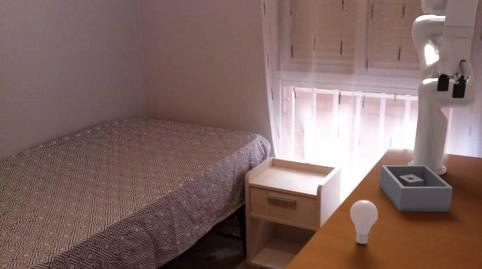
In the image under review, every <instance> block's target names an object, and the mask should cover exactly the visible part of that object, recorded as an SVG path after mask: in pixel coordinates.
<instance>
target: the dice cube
mask: <svg viewBox="0 0 482 269" xmlns="http://www.w3.org/2000/svg"><path fill="white" fill-rule="evenodd" d="M398 181H399V182H400V183H401V184H402V185H403V186H404V187H423V186H424V180H422V179H420V178H419V177H417V176H415V175H413V174H412V175H405V176H399V178H398Z"/></svg>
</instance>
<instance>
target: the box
mask: <svg viewBox="0 0 482 269" xmlns="http://www.w3.org/2000/svg"><path fill="white" fill-rule="evenodd" d="M412 174H413V175H415V176H417V177H419V178H420V179H422V180H424V186H423V187H404V186H403V185H402V184H401V183H400V182H399V181H398V178H399V176H405V175H412ZM379 176H380V177H379V188H380V189H381V190H382V192H383V193H384V194H385V195H386V197H387V198H388V199H389V201H390V202H391V203H392V205H393V206H394V207H395V208H396V210H397V211H398V212H400V213H401V212H403V213H404V212H406V213H407V212H416V213H417V212H420V213H421V212H426V213H429V212H431V213H432V212H437V213H438V212H442V213H443V212H444V213H445V212H450V210H451V204H452V196H453V189H454V188H453V186H452V185H451V184H449V183H448V182H446V181H445V180H444V179H443V178H442V177H441V176H440V175H437V174H436V173H435V172H434V171H432V170H431V169H430V168H429V167H428V166H427V165H408V164H407V165H406V164H404V165H403V164H400V165H399V164H398V165H397V164H392V165H390V164H389V165H388V164H387V165H386V164H385V165H383V164H381V165H380V175H379Z"/></svg>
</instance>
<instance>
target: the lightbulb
mask: <svg viewBox="0 0 482 269" xmlns="http://www.w3.org/2000/svg"><path fill="white" fill-rule="evenodd" d="M349 216H350V218H351V221H352V223H353V224H354V227H355V228H354V229H355V232H356V237H355V238H356V239H355V241H356V243H358V244H359V245H364V244H367V243H368V239H369V233H370V231H371V228H372V227H373V226H374V224H375V223H376V222H377V221H378V218H379V211H378V207H377V206H376V205H375V203H373V202H372V201H370V200H368V199H359V200H357V201H355V202H354V203H353V204H352V206H351V207H350V210H349Z"/></svg>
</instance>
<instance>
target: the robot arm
mask: <svg viewBox="0 0 482 269" xmlns="http://www.w3.org/2000/svg"><path fill="white" fill-rule="evenodd" d="M478 5H479V0H421V10H422V13H424V14H425V15H421V16H419V17H417V18H416V19H415V20H414V21H413V23H412V26H411V38H412V44H413V46H414V48H415V50H416V52H417V54H418V58H419V67H420V68H419V69H420V70H419V71H420V77H421V79H422V81H421V82H419V85H418V87H417V104H418V106H417V107H418V110H417V121H416V130H415V138H414V148H413V153H412V154H413V156H412V160H411V161H409V162H407V165H427V166H428V167H429V168H430V169H431V170H432V171H434V172H435V173H436V174H437V175H438V176H442V175H444V174H446V173H447V167H446V166H445V165H444V164H443V162H444V154H445V148H446V146H445V145H446V142H447V140H446V139H447V132H448V125H449V123H448V122H449V121H448V118H447V116H446V115H445V113H444V112H443V111H442V109H470V108H472V107H473V106H474V104H475V102H476V99H477V86H476V82H475V76H474V72H473V70H474V69H473V67H472V66H473V65H472V63H471V61H470V60H471V55H472V54H471V50H472V40H473V37H474V30H475V24H476V15H477V9H478ZM436 40H441V43H439V42H438V41H436Z"/></svg>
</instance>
